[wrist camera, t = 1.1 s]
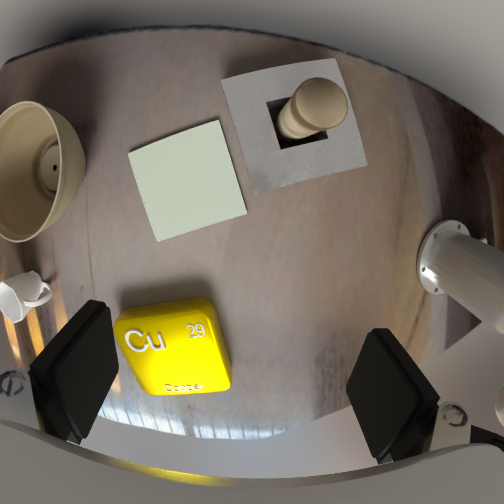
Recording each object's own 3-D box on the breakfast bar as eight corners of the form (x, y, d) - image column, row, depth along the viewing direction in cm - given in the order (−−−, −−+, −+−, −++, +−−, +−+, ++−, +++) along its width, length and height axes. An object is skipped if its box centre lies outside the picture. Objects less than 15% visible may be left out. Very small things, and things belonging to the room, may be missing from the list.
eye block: (322, 70, 29) (334, 58, 24) (350, 164, 33) (367, 165, 28) (223, 91, 30) (220, 80, 25) (253, 189, 34) (255, 194, 29)
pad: (219, 120, 31) (218, 119, 30) (247, 212, 34) (247, 213, 34) (129, 153, 31) (127, 153, 31) (158, 240, 35) (157, 241, 34)
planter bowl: (129, 147, 31) (87, 143, 21) (73, 243, 34) (29, 269, 24) (58, 93, 27) (12, 80, 17) (13, 183, 31) (-33, 194, 20)
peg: (301, 106, 30) (338, 74, 17) (310, 138, 32) (354, 124, 18) (268, 114, 31) (287, 82, 17) (278, 146, 32) (303, 134, 19)
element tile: (151, 380, 43) (145, 399, 38) (118, 307, 38) (106, 323, 34) (234, 373, 43) (234, 393, 38) (212, 293, 38) (209, 310, 33)
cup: (18, 261, 35) (-10, 279, 27) (58, 265, 35) (28, 286, 28) (26, 298, 37) (1, 319, 29) (66, 305, 37) (41, 331, 30)
